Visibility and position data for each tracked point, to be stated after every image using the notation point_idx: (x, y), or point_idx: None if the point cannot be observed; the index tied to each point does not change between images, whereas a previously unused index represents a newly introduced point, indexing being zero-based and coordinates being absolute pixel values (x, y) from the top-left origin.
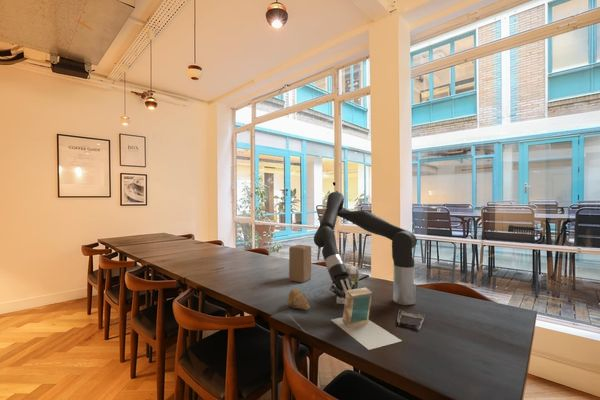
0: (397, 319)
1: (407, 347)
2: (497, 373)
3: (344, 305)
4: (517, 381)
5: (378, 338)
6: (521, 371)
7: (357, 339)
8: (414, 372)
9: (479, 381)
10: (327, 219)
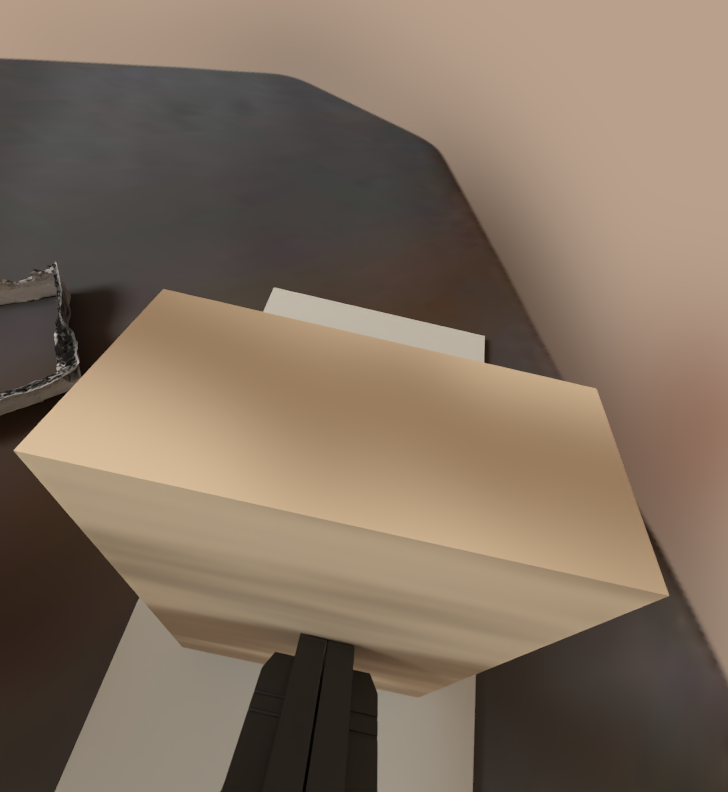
0: (18, 394)
1: (298, 264)
2: (224, 93)
3: (490, 664)
4: (227, 72)
5: None
6: (160, 67)
7: None
8: (428, 202)
9: (307, 112)
10: None
